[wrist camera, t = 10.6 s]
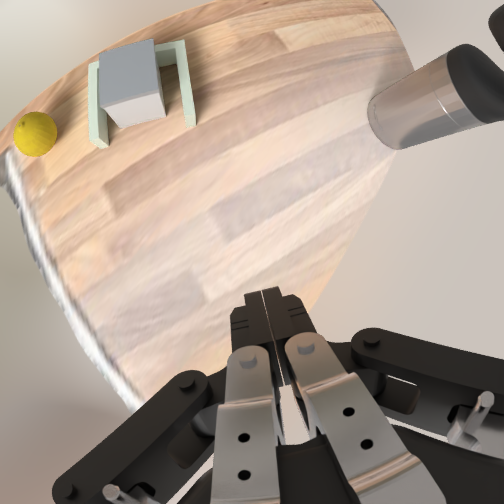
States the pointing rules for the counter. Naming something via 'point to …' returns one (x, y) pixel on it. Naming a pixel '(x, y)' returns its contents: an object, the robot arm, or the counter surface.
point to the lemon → (35, 134)
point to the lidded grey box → (131, 84)
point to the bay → (165, 56)
